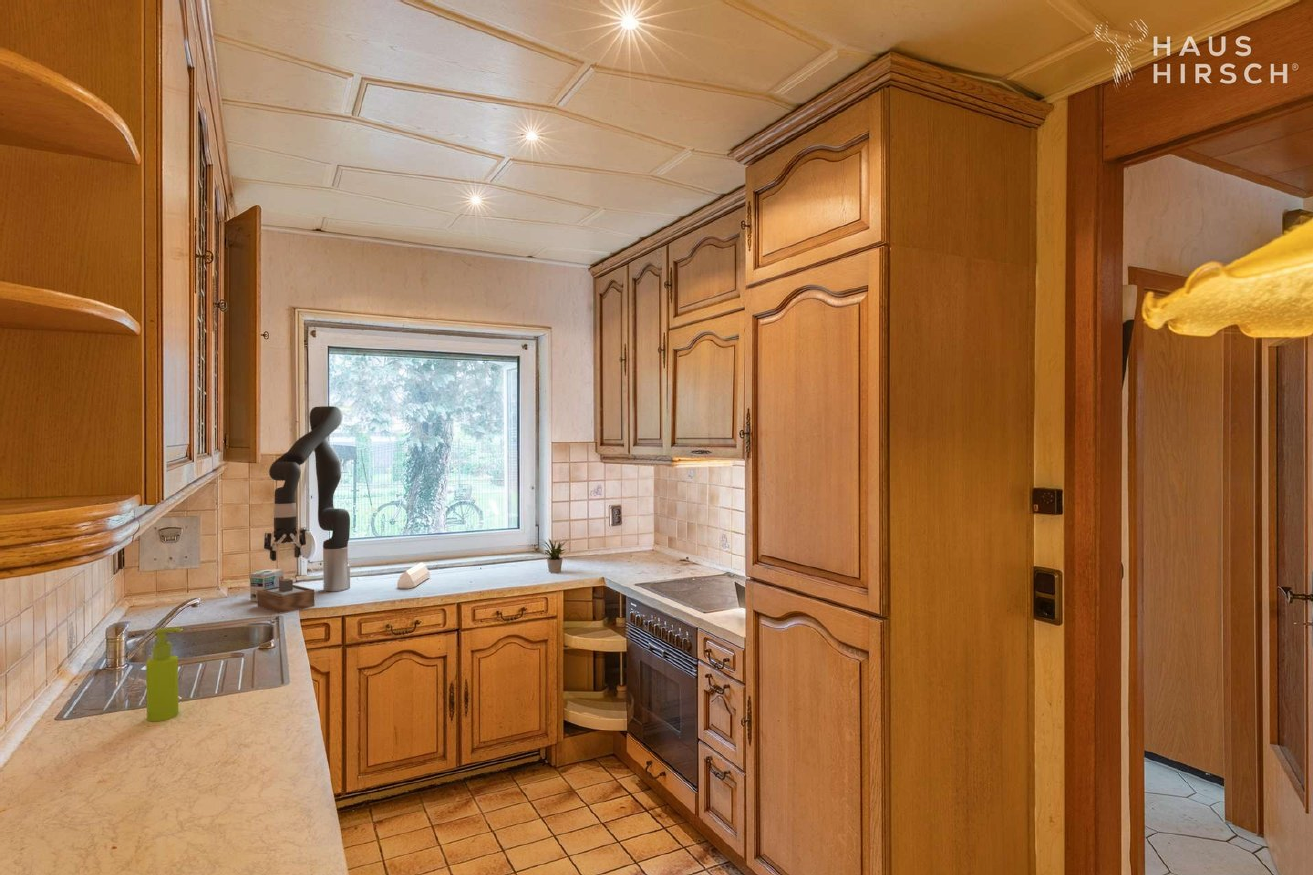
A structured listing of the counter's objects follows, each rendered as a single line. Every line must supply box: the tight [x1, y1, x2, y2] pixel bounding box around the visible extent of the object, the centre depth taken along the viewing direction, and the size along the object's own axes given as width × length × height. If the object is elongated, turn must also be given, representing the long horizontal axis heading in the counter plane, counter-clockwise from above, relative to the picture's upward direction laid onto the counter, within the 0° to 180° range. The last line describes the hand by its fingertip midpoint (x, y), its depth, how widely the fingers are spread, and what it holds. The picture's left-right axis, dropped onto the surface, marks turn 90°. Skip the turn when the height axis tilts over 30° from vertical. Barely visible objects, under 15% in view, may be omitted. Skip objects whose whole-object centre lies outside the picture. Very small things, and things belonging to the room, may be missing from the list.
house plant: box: [539, 538, 568, 574], centre depth 322 cm, size 14×14×16 cm
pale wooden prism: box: [396, 562, 431, 589], centre depth 302 cm, size 7×7×24 cm
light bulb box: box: [249, 568, 285, 602], centre depth 274 cm, size 11×7×11 cm, turn 168°
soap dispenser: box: [145, 626, 184, 722], centre depth 161 cm, size 6×7×20 cm
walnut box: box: [256, 584, 315, 614], centre depth 262 cm, size 13×17×6 cm
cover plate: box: [267, 578, 305, 595], centre depth 262 cm, size 8×12×5 cm, turn 55°
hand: (285, 558), depth 262 cm, fingers open, 8 cm apart
